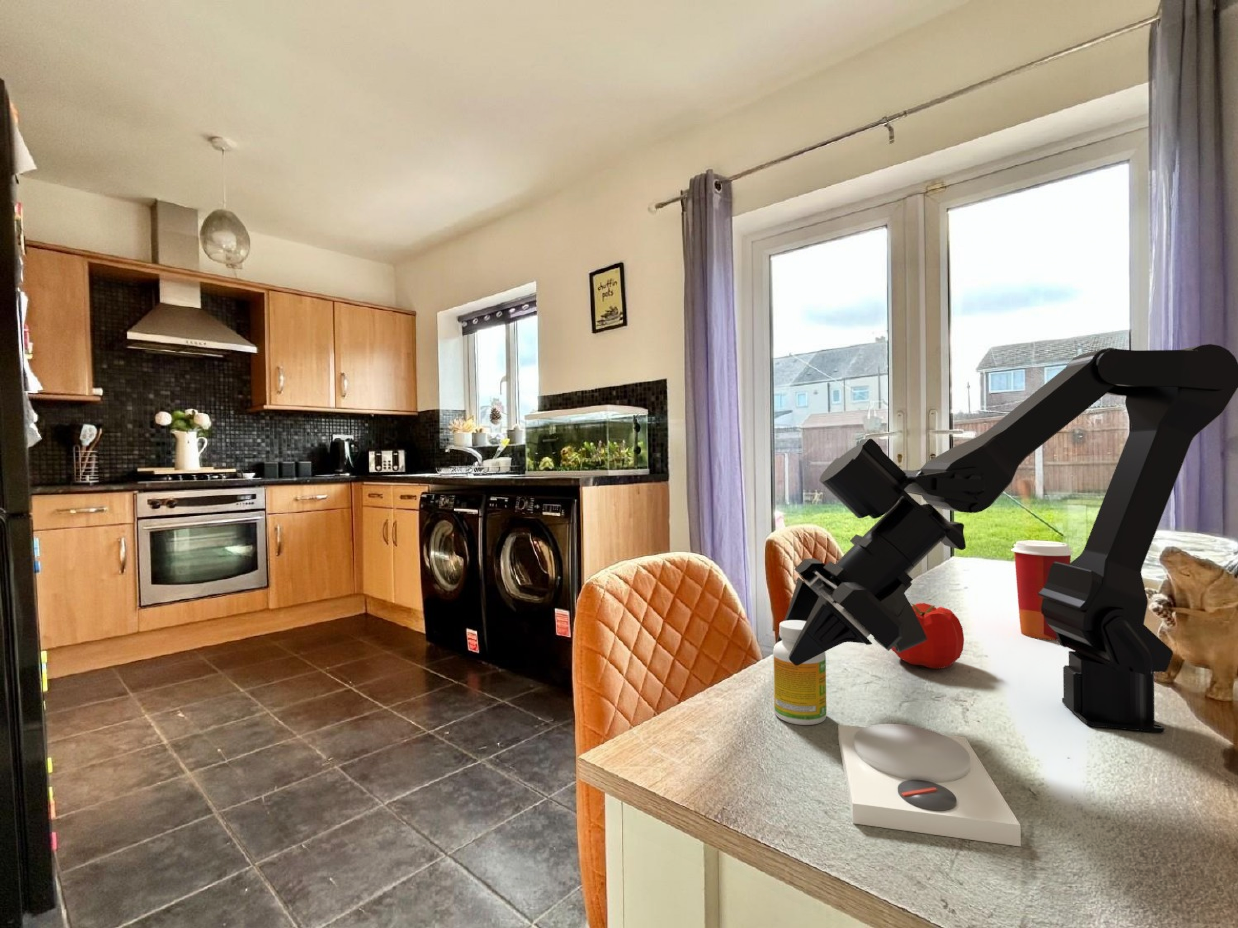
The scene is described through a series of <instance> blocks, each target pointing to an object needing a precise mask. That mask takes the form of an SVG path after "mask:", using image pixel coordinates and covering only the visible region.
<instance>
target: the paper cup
mask: <svg viewBox="0 0 1238 928" xmlns="http://www.w3.org/2000/svg"><path fill="white" fill-rule="evenodd" d="M1010 551H1011V552H1013V553H1014V562H1015V563H1014V565H1015V576H1016V577H1015V579H1016V580H1015V581H1016V590H1017V605H1018V614H1019V615H1018V616H1019V625H1020V632H1021V634H1022V635H1023V636H1026V637H1029V638H1032V639H1037V638H1039V639H1038V640H1043V639H1046V640H1045V641H1058V639H1057V636H1056V634H1055V631H1054V630H1053V629H1052V628H1051V627H1050V626H1049V625H1048V624H1047V622H1046V620H1045V618H1044V615H1042V613H1041V605H1042V600H1043V598H1044V597H1041V596H1039V595H1038V593H1039V592H1040V591H1041V590H1042V589H1043V588H1044V586H1045V584H1046V582H1047V579H1048V575H1049V570H1050V567H1051V565H1052V564H1053V562H1060V563H1064V564H1068V565H1069V564H1070V563H1071V562H1072V561H1071V559H1072V557H1071V556H1073V555H1074V552H1073V551H1072V550H1071V547H1070V546H1069V544H1068V543H1065V542H1060V541H1050V540H1049V541H1048V540H1033V539H1032V540H1031V539H1030V540H1028V539H1027V540H1026V539H1024V540H1016V542H1015V544H1013V547H1012V548H1011V549H1010Z"/></svg>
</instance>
